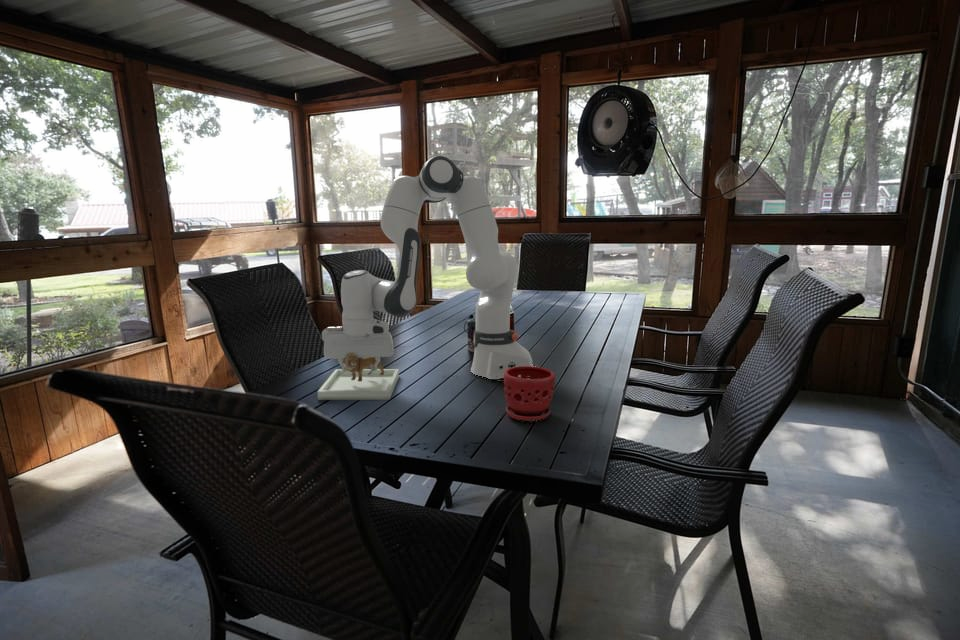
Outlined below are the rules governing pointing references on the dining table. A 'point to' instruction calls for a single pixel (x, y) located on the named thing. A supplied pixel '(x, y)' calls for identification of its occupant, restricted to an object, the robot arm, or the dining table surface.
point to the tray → (359, 385)
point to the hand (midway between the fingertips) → (360, 371)
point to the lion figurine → (360, 365)
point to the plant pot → (528, 392)
